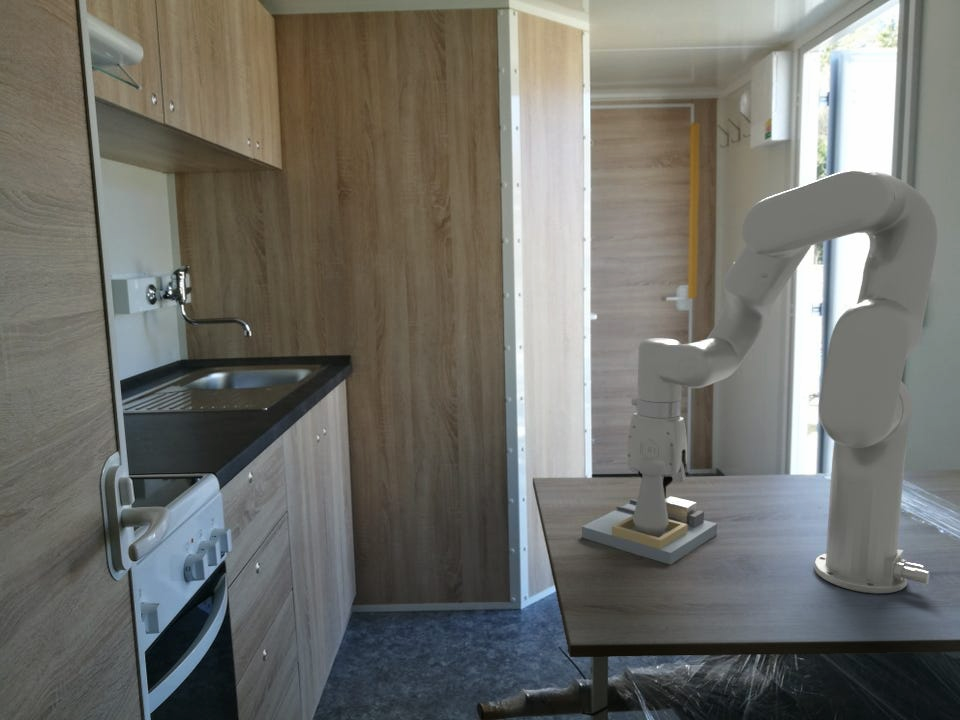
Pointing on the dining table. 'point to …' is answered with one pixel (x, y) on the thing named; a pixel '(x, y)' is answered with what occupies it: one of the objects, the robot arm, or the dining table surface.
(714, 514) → the dining table surface
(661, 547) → the base
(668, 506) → the cover
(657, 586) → the dining table surface
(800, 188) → the robot arm
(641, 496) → the salt shaker
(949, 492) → the dining table surface
